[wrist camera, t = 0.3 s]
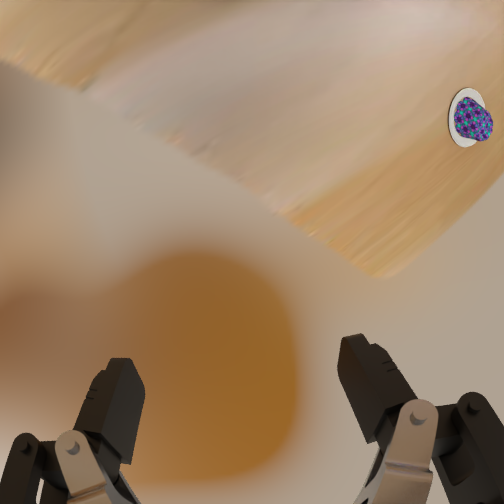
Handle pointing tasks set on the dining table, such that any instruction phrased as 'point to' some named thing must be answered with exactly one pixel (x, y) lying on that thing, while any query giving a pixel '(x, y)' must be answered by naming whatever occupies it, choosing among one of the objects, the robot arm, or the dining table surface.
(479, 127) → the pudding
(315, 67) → the dining table surface
